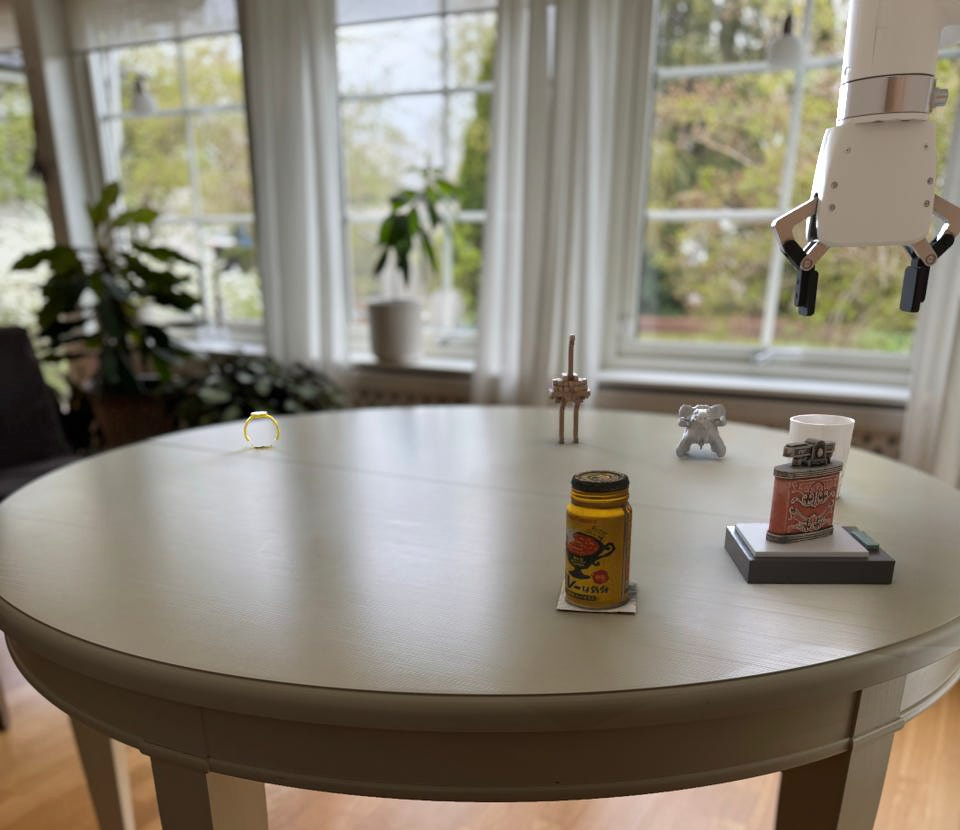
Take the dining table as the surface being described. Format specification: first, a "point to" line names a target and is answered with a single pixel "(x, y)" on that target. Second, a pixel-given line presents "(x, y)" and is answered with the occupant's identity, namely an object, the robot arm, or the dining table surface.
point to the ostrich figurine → (569, 392)
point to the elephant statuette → (701, 428)
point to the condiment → (598, 545)
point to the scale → (809, 557)
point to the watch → (260, 415)
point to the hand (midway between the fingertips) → (857, 313)
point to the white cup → (825, 435)
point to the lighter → (804, 493)
